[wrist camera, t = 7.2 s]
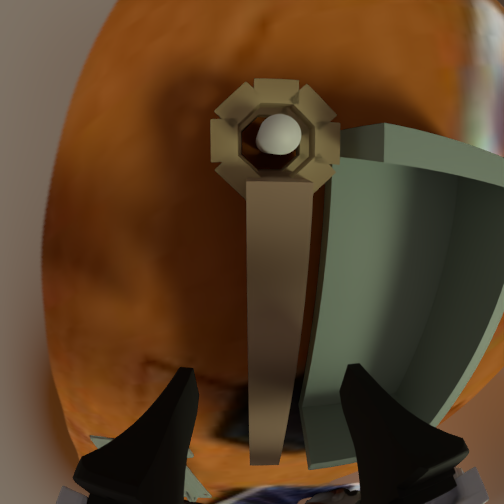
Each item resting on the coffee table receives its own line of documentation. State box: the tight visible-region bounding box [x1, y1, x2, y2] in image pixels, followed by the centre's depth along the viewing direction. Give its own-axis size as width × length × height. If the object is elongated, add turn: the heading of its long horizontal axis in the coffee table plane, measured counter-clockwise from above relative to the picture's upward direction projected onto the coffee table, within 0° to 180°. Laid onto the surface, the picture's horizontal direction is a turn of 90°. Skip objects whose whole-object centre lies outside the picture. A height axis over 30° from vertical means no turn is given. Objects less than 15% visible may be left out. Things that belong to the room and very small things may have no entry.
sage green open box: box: [256, 114, 504, 470], centre depth 13 cm, size 20×13×6 cm, turn 0°
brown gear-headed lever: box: [210, 78, 340, 465], centre depth 13 cm, size 22×4×6 cm, turn 0°
